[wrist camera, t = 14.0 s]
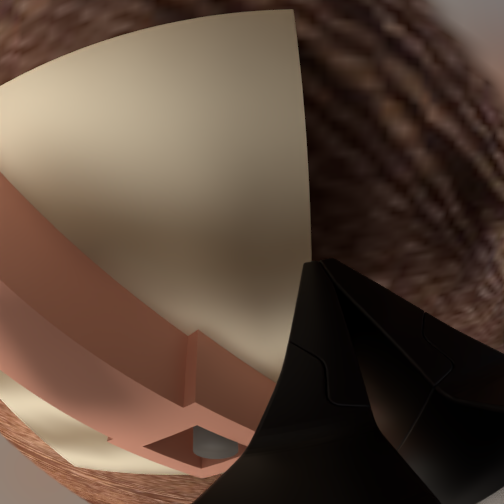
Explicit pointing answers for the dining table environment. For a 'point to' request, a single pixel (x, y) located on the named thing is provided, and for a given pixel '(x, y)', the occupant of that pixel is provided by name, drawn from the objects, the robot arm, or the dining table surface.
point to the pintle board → (171, 190)
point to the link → (114, 351)
